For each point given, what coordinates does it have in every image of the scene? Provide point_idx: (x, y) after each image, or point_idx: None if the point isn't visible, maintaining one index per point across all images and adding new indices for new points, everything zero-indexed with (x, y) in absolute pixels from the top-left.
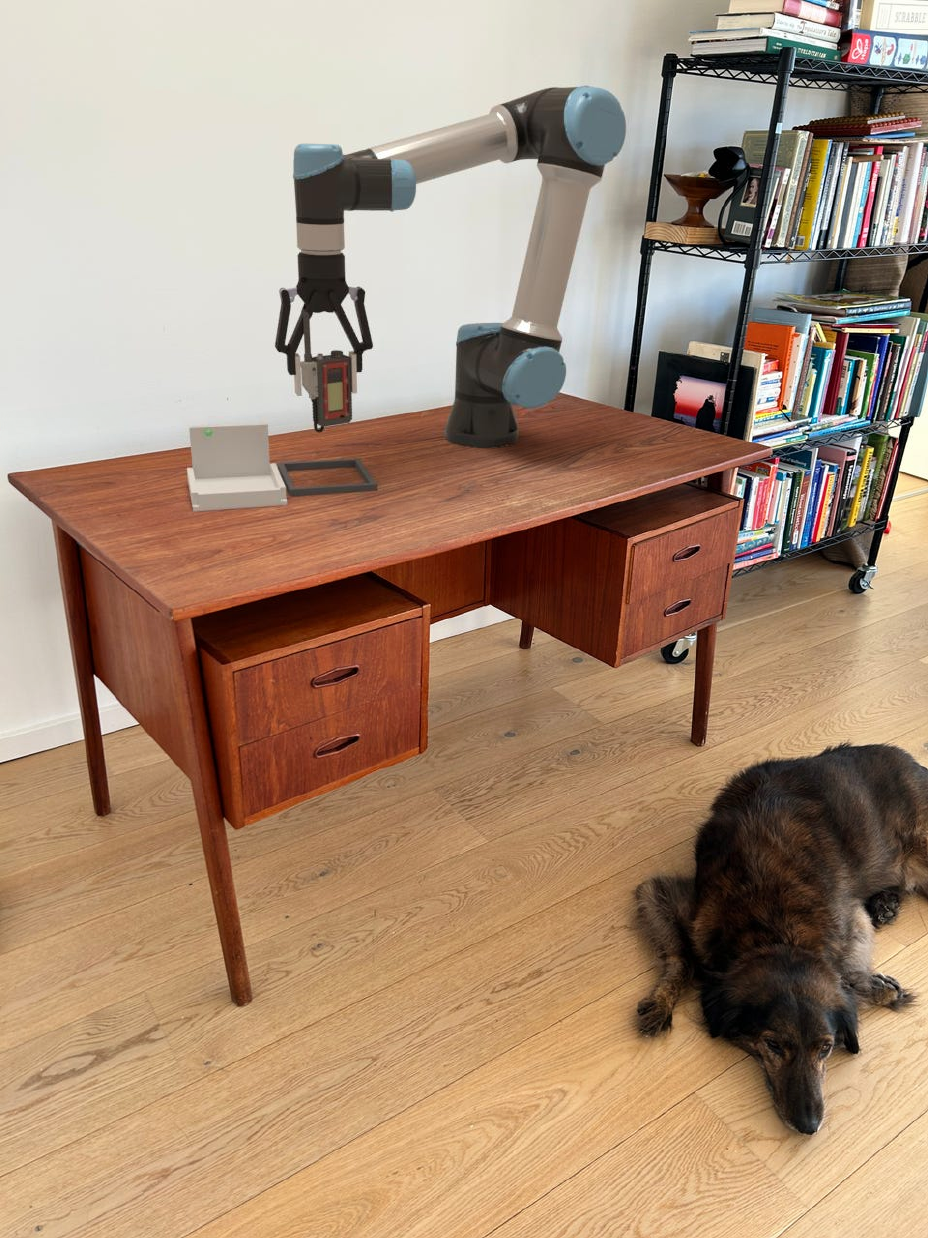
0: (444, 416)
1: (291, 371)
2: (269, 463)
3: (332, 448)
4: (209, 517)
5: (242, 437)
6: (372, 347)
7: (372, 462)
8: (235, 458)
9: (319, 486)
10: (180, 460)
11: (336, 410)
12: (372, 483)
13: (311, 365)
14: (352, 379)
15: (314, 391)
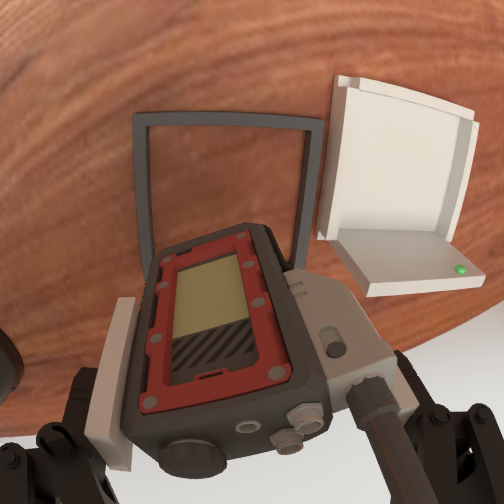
0: (39, 418)
1: (399, 359)
2: (337, 238)
3: None
4: (448, 81)
5: (405, 266)
6: (1, 447)
7: (120, 287)
8: (398, 244)
9: (260, 122)
10: (405, 324)
11: (202, 263)
12: (141, 121)
13: (358, 359)
14: (125, 336)
15: (306, 280)
